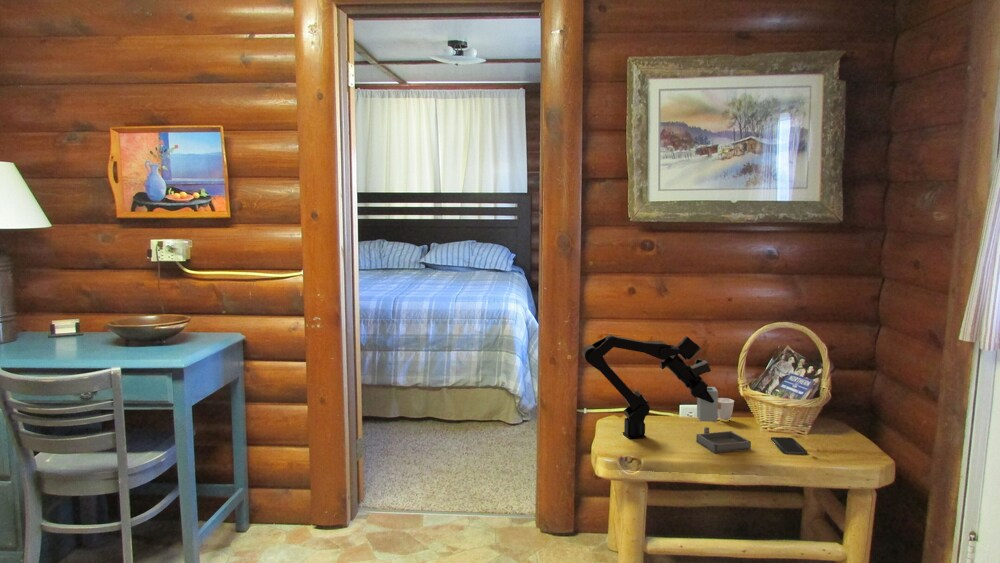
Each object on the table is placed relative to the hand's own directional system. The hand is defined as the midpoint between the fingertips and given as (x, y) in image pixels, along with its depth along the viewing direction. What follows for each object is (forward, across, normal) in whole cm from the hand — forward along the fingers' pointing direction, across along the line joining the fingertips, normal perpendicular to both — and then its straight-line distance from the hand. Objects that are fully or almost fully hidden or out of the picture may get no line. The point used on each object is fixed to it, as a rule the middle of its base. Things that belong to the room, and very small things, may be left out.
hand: (711, 399), depth 232 cm
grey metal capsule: (+8, 0, +10) cm, 14 cm away
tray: (+11, -10, +8) cm, 17 cm away
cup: (+15, +19, +4) cm, 25 cm away
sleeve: (+4, 0, +6) cm, 7 cm away
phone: (+27, -9, -7) cm, 29 cm away
